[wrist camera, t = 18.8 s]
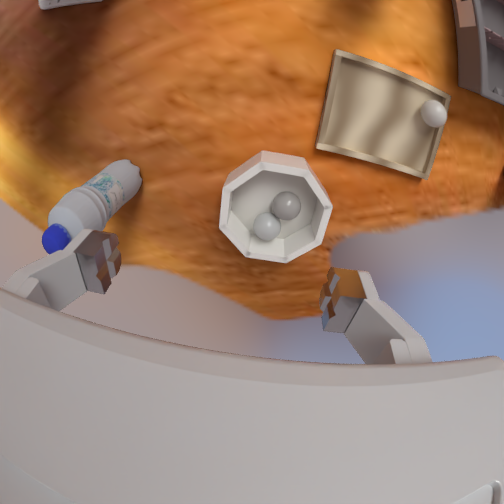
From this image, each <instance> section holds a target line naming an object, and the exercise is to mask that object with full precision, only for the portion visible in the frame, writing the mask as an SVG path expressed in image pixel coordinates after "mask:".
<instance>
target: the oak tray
mask: <svg viewBox="0 0 504 504" xmlns="http://www.w3.org/2000/svg"><path fill="white" fill-rule="evenodd" d="M450 99H451V96H450V95H448V94H447V93H445V92H443V91H441V90H439V89H437V88H435V87H433V86H431V85H429V84H427V83H425V82H423V81H421V80H419V79H417V78H415V77H413V76H410V75H408V74H406V73H404V72H401V71H399V70H396V69H394V68H391V67H389V66H386V65H384V64H381V63H378V62H376V61H373V60H370V59H367V58H364V57H361V56H358V55H355V54H352V53H348V52H345V51H341V50H338V49H336V50H334V53H333V59H332V64H331V70H330V75H329V80H328V86H327V91H326V96H325V101H324V106H323V111H322V115H321V120H320V125H319V130H318V134H317V139H316V143H315V147H316V148H317V149H321V150H326V151H330V152H334V153H338V154H342V155H346V156H350V157H354V158H358V159H362V160H365V161H369V162H373V163H376V164H379V165H383V166H386V167H389V168H393V169H396V170H399V171H402V172H405V173H408V174H411V175H414V176H417V177H420V178H423V179H425V180H428V177H429V174H430V171H431V168H432V165H433V162H434V159H435V156H436V153H437V150H438V146H439V143H440V139H441V136H442V132H443V128H444V125H445V124H444V125H443V126H441V127H438V128H434V127H431V126H429V125H427V124H426V123H425V122H424V120H423V119H422V116H421V106H422V104H423V103H424V102H425V101H427V100H436V101H438V102H440V103H441V104H442V105H443V106H444V107H445V109H446V112H447V113H448V108H449V104H450Z"/></svg>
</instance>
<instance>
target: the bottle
mask: <svg viewBox="0 0 504 504" xmlns="http://www.w3.org/2000/svg"><path fill="white" fill-rule="evenodd" d="M139 171H140V169H139V167H138V166H134V165H133V164H131V161H130V160H120V161H115V162H113V163H111V164H110V165H108V166H107V167H106V168H105V169H103V170H102V171H101V172H100V173H99V174H97V175H96V176H94V177H93V178H92V179H90V180H89V181H87V182H86V183H85V184H83V185H82V186H81V187H78V188H74V189H72V190H71V191H70V192H68V193H66V194H65V195H64V196H63V197H62V199H61V200H60V201H59V202H58V203H57V204H56V205H55V206H54V208H53V209H52V210H51V211H50V213H49V216H48V226H49V228H48V229H47V230H46V231H45V232H44V233H43V236H42V244H43V247H44V249H45V250H46V252H47V253H48V254H49V255H50V254H52V253H54V252H56V251H58V250H63V249H64V248H65V247H66V246H67V245H68V244H69V243H70V242H71V241H72V240H73V239H74V238H75V237H76V236H77V235H78V233H79V232H80V231H81V230H82V229H92V230H97V231H103V229H104V228H105V225H106V222H107V221H108V220H109V219H110V218H111V217H112V216H113V215H114V214H115V213H116V212H117V211H118V210H119V209H120V208H121V207H122V206H123V205H124V204H125V203H126V202H128V201H129V200H130V199H131V198H132V197H133V196H135V194H136V193H137V192H138V190H139V188H140V186H141V184H142V178H141V177H140V174H139Z"/></svg>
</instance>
